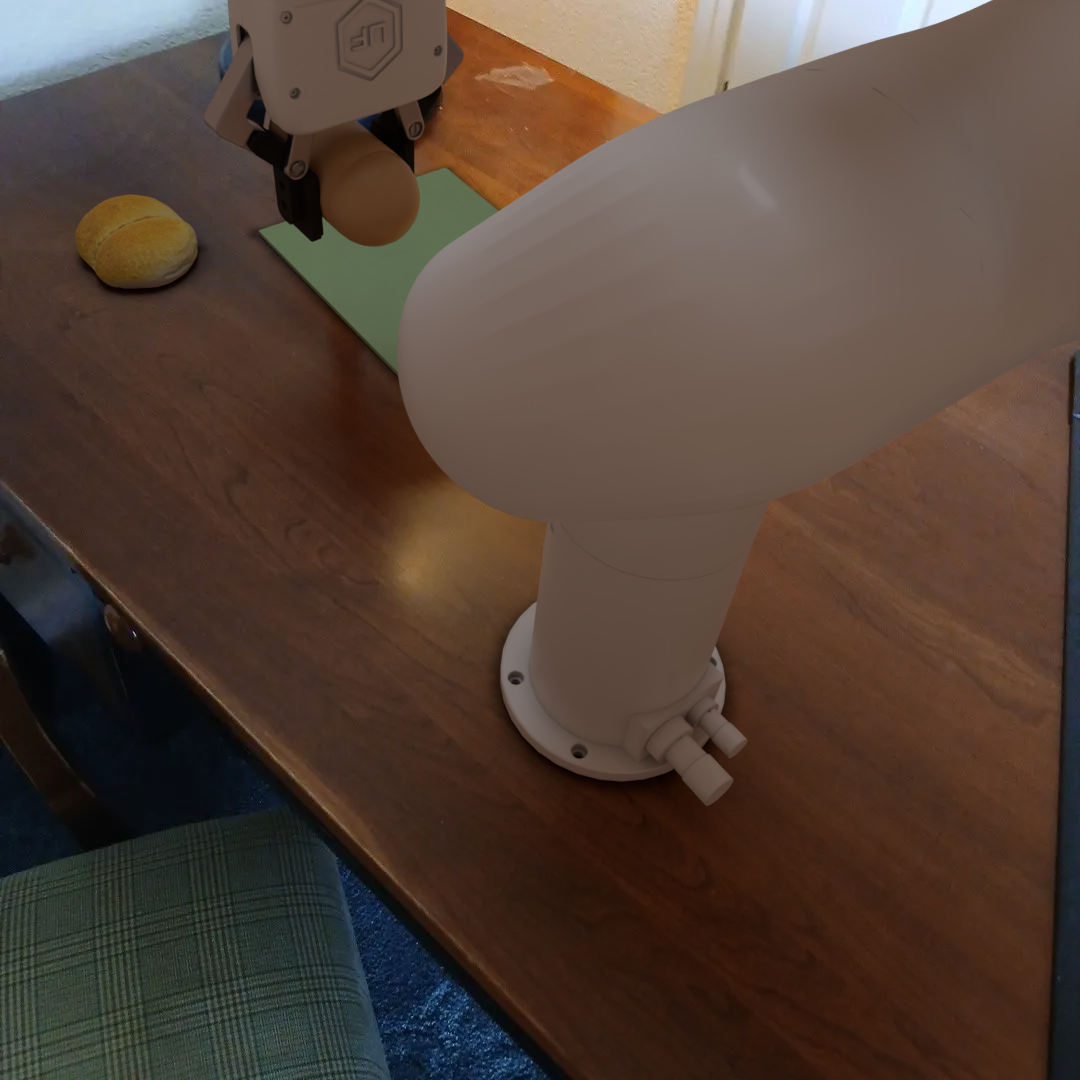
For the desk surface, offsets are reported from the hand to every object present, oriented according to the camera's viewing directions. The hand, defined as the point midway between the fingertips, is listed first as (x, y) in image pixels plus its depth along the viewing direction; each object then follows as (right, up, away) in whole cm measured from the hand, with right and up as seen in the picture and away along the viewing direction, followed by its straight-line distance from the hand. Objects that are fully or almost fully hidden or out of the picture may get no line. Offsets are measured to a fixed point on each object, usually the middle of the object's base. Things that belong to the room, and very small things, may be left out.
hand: (348, 208), depth 59 cm
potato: (0, 0, 0) cm, 0 cm away
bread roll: (-20, +3, +21) cm, 29 cm away
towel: (+2, +2, +23) cm, 23 cm away
